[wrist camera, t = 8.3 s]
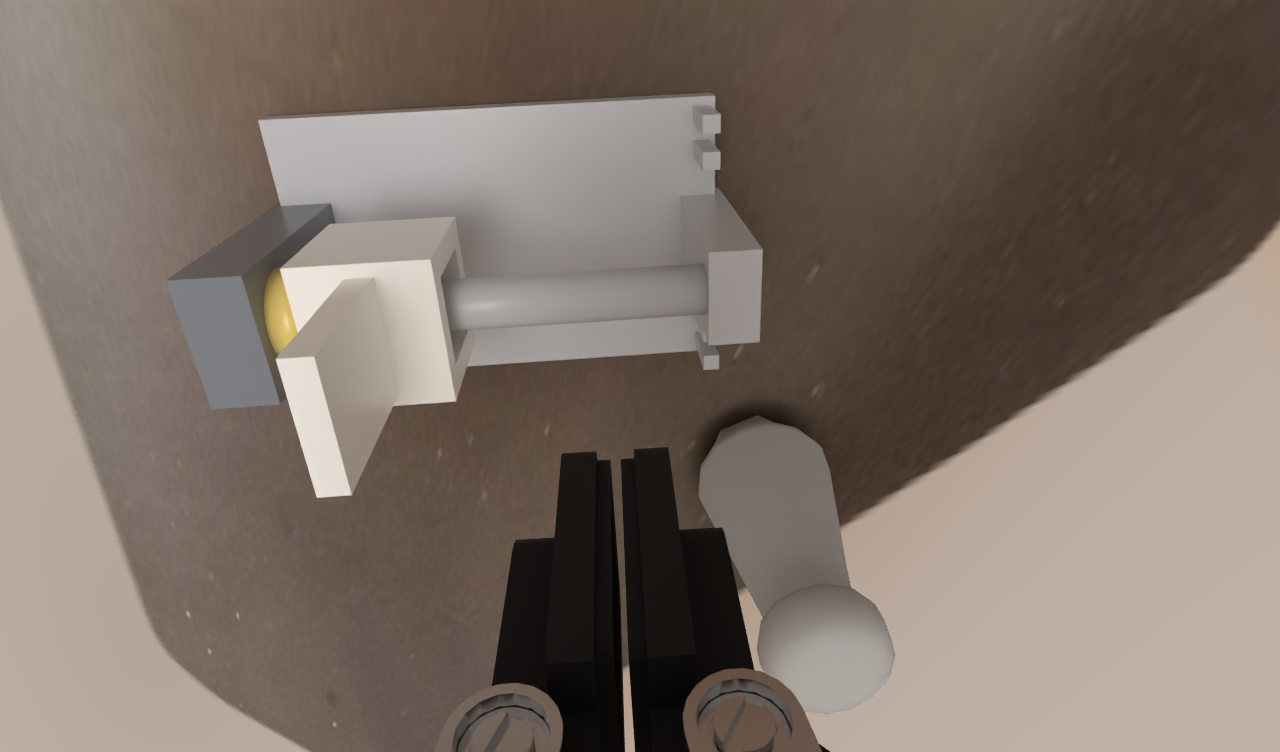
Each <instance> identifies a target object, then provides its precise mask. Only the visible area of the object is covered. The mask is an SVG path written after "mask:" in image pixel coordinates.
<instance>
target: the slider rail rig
mask: <svg viewBox="0 0 1280 752" xmlns="http://www.w3.org/2000/svg"><path fill="white" fill-rule="evenodd" d="M258 122H259V126H260V130H261V134H262V137H263V141H264V145H265V148H266V152H267V156H268V160H269V163H270V167H271V171H272V175H273V178H274V182H275V186H276V190H277V193H278V197H279V201H280V204H278V205H277V206H275V207H274V208H272V209H271V210H269V211H268V212H266V213H265V214H263V215H262V216H260V217H259V218H257V219H256V220H254V221H253V222H251V223H250V224H249V225H247V226H246V227H244V228H243V229H241V230H240V231H238V232H237V233H235V234H234V235H232V236H231V237H229V238H228V239H226V240H225V241H223V242H222V243H220V244H219V245H218V246H216V247H215V248H213V249H212V250H210V251H209V252H207V253H206V254H204V255H203V256H201V257H200V258H198V259H197V260H195V261H194V262H192V263H191V264H189V265H188V266H187V267H185V268H184V269H182V270H181V271H179V272H178V273H176V274H175V275H173V276H172V277H170V278H169V279H167V280H166V283H167V286H168V289H169V292H170V295H171V297H172V300H173V303H174V306H175V309H176V311H177V314H178V317H179V320H180V323H181V325H182V328H183V331H184V334H185V337H186V340H187V342H188V345H189V348H190V351H191V354H192V356H193V359H194V362H195V365H196V368H197V371H198V373H199V376H200V379H201V382H202V385H203V387H204V390H205V393H206V396H207V399H208V402H209V404H210V407H211V409H225V408H239V407H253V406H268V405H281V403H282V402H283V400H284V399H285V398H286V392H285V389H284V386H283V382H282V379H281V376H280V372H279V369H278V366H277V362H276V358H277V357H278V356H279V354H280V353H281V352H282V351H283V350H284V349H285V347H286V346H287V345H288V344H289V343H290V341H291V340H292V339H293V338H294V337H295V336H296V334H297V329H296V325H295V322H294V318H293V315H292V311H291V307H290V304H289V300H288V297H287V293H286V289H285V286H284V282H283V279H282V275H281V271H280V268H281V267H282V266H283V265H284V264H285V263H287V262H288V261H289V260H290V259H291V258H292V257H293V256H294V255H296V254H297V253H298V252H299V251H300V250H301V249H302V248H303V247H305V246H306V245H307V244H308V243H309V242H310V241H311V240H312V239H313V238H315V237H316V236H317V235H318V234H319V233H320V232H321V231H322V230H324V229H325V228H326V227H327V226H328V225H329V224H338V223H355V222H371V221H388V220H405V219H422V218H438V217H456V223H457V230H458V236H459V242H460V249H461V255H462V261H463V267H464V274H465V278H464V279H449V280H441V284H442V289H443V295H444V301H445V306H446V312H447V318H448V324H449V329H450V331H464V330H474V337H475V342H474V346H473V349H472V352H471V355H470V358H469V362H468V365H467V366H480V365H494V364H509V363H524V362H538V361H553V360H568V359H582V358H597V357H612V356H626V355H641V354H655V353H670V352H685V351H698V354H699V357H700V360H701V364H702V367H703V370H712V369H719V353H718V351H717V348H716V346H715V345H725V344H740V343H754V342H760V317H761V288H762V259H763V249H762V247H761V246H760V245H759V243H758V242H757V241H756V239H755V238H754V236H753V235H752V234H751V232H750V231H749V229H748V228H747V227H746V225H745V224H744V222H743V221H742V220H741V218H740V217H739V215H738V214H737V213H736V211H735V210H734V208H733V207H732V206H731V204H730V203H729V201H728V200H727V199H726V197H725V196H724V194H723V193H722V192H721V190H720V189H719V188H718V187H717V188H715V170H720V158H721V152H720V150H719V149H718V148H717V147H716V146H715V133H721V114H720V113H719V112H718V111H716V110H715V95H714V94H712V93H711V92H709V93H691V94H672V95H653V96H635V97H616V98H597V99H579V100H560V101H542V102H523V103H504V104H486V105H467V106H448V107H430V108H411V109H393V110H374V111H355V112H337V113H318V114H299V115H281V116H268V117H265V118H263V119H260V120H258Z"/></svg>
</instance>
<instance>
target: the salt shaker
mask: <svg viewBox="0 0 1280 752" xmlns="http://www.w3.org/2000/svg"><path fill="white" fill-rule="evenodd" d="M699 498H700V500H701V502H702V504H703V506H704V508H705V510H706V512H707V514H708V516H709V518H710V520H711V521H712V523H713V525H714V527H715V528H721V527H722V528H723V530H724V533H725V537H726V541H727V546H728V550H729V555H730V557H731V559H732V560H733V562H734V564H735V566H736V568H737V570H738V572H739V574H740V576H741V577H742V579H743V581H744V583H745V585H746V587H747V589H748V591H749V592H750V594H751V596H752V598H753V600H754V602H755V604H756V606H757V607H758V609H759V611H760V613H761V615H762V617H763V619H762V620H761V625H760V631H759V637H758V644H757V651H758V656H759V661H760V665H761V667H762V669H763V671H764V673H765V674H767V675H770V676H772V677H774V678H776V679H778V680H779V681H780V682H782V683H783V684H784V685H785V686H786V687H787V688H789V689H790V690H791V691H792V692H793V693H794V695H795V697H796V698H797V700H798V701H799V703H800V704H801V706H802V708H803V710H804V711H805V712H814V713H823V714H829V713H835V712H840V711H846V710H850V709H852V708H854V707H856V706H858V705H860V704H861V703H863V702H865V701H867V700H869V699H870V698H871V697H872V696H873V695H874V694H875V693H876V692H877V691H878V690H879V689H880V688H881V687H882V685H883V684H884V683H885V682H886V681H887V679H888V678H889V676H890V674H891V670H892V666H893V662H894V658H895V652H894V648H893V644H892V641H891V637H890V634H889V632H888V629H887V626H886V624H885V621H884V619H883V617H882V615H881V613H880V612H879V610H878V608H877V607H876V605H875V604H874V603H872V602H871V601H870V600H869V599H867V598H866V597H864V596H863V595H861V594H860V593H858V592H857V591H856V590H854V589H852V588H851V586H850V581H849V577H848V572H847V567H846V562H845V556H844V550H843V544H842V538H841V532H840V526H839V521H838V515H837V509H836V503H835V498H834V492H833V486H832V480H831V474H830V470H829V467H828V464H827V461H826V459H825V456H824V453H823V450H822V448H821V447H820V446H819V444H818V443H817V442H815V441H814V440H813V439H811V438H810V437H808V436H807V435H806V434H804V433H803V432H802V431H800V430H799V429H797V428H796V427H792V426H788V425H783V424H779V423H774V422H772V421H770V420H767V419H765V418H763V417H760V416H758V415H756V416H753V417H751V418H749V419H746V420H744V421H741V422H739V423H736V424H734V425H732V426H729V427H727V428H724V429H722V430H720V432H719V435H718V437H717V440H716V442H715V444H714V446H713V447H712V449H711V450H710V452H709V454H708V455H707V457H706V458H705V460H704V462H703V463H702V465H701V469H700V480H699Z"/></svg>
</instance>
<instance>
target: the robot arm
mask: <svg viewBox="0 0 1280 752" xmlns="http://www.w3.org/2000/svg"><path fill="white" fill-rule="evenodd" d="M621 471H622V497H623V523H624V549H625V575H626V601H627V627H628V651H629V669H630V684H631V696H632V697H631V698H632V711H633V726H634V740H635V752H830V751H828V750H827V749H825V748H824V747H822V746H821V745H820V744H818V741H817V739H816V737H815V735H814V732H813V730H812V728H811V726H810V723H809V721H808V719H807V717H806V714H805V712H804V710H803V708H802V706H801V704H800V703H799V701H798V700H797V698H796V697H795V695H794V693H793V692H792V691H791V690H790V689H789V688H787V687H786V686H785V685H784V684H783V683H782V682H780V681H779V680H778V679H776V678H774V677H772V676H770V675H767V674H765V673H763V672H760V671H755V670H754V666H753V662H752V657H751V653H750V648H749V644H748V638H747V634H746V629H745V625H744V620H743V615H742V611H741V607H740V601H739V597H738V592H737V587H736V583H735V578H734V573H733V569H732V564H731V560H730V555H729V550H728V546H727V541H726V537H725V533H724V530H723V528H722V527H721V528H704V529H688V530H679V524H678V516H677V509H676V502H675V494H674V487H673V480H672V472H671V465H670V458H669V451H668V447H664V448H647V449H634V458H633V459H621ZM623 706H624V705H623V670H622V636H621V603H620V584H619V570H618V557H617V543H616V530H615V516H614V503H613V489H612V475H611V463H610V460H599V461H597V453H596V452H580V453H563V454H562V456H561V467H560V479H559V491H558V504H557V516H556V528H555V538H542V539H525V540H516V541H515V543H514V546H513V551H512V557H511V564H510V571H509V577H508V584H507V590H506V597H505V603H504V610H503V617H502V623H501V630H500V636H499V643H498V649H497V656H496V663H495V669H494V676H493V682H492V687H489V688H486V689H483V690H480V691H479V692H477V693H476V694H474V695H472V696H471V697H469V698H468V699H466V700H464V701H463V702H462V704H461V705H460V706H459V707H458V708H457V709H456V710H455V711H454V712H453V713H452V714H451V715H450V717H449V719H448V721H447V723H446V724H445V726H444V728H443V730H442V732H441V735H440V737H439V740H438V743H437V746H436V748H435V751H434V752H625V741H624V740H625V739H624V707H623Z"/></svg>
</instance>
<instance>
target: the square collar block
mask: <svg viewBox="0 0 1280 752" xmlns="http://www.w3.org/2000/svg"><path fill="white" fill-rule="evenodd" d="M280 271H281V275H282V279H283V282H284V286H285V289H286V293H287V297H288V300H289V304H290V307H291V311H292V315H293V318H294V322H295V325H296V329H297V334H296V336H295V337H294V338H293V339H292V340H291V341H290V343H289V344H288V345H287V346H286V347H285V349H284V350H283V351H282V352H281V353H280V354H279V356H278V357H277V358H276V362H277V366H278V369H279V372H280V376H281V379H282V382H283V386H284V389H285V392H286V396H287V399H288V402H289V406H290V409H291V412H292V416H293V419H294V422H295V426H296V429H297V433H298V436H299V439H300V443H301V446H302V449H303V453H304V456H305V459H306V463H307V466H308V469H309V473H310V476H311V479H312V483H313V486H314V489H315V493H316V496H317V498H320V497H333V496H347V495H352V493H353V491H354V489H355V487H356V485H357V483H358V481H359V478H360V476H361V474H362V472H363V470H364V468H365V465H366V463H367V461H368V459H369V457H370V455H371V453H372V450H373V448H374V446H375V444H376V442H377V440H378V437H379V435H380V433H381V431H382V429H383V427H384V425H385V422H386V420H387V418H388V416H389V414H390V412H391V410H392V407H393V406H398V405H413V404H427V403H441V402H455V401H456V400H457V397H458V393H459V390H460V387H461V384H462V381H463V377H464V374H465V371H466V368H467V365H468V362H469V358H470V355H471V352H472V349H473V346H474V342H475V337H474V330H464V331H450V329H449V324H448V318H447V312H446V306H445V301H444V295H443V289H442V284H441V280H449V279H464V278H465V274H464V267H463V261H462V255H461V249H460V242H459V236H458V230H457V223H456V217H438V218H422V219H405V220H388V221H371V222H355V223H338V224H329V225H328V226H327V227H326V228H325V229H324V230H322V231H321V232H320V233H319V234H318V235H317V236H316V237H315V238H313V239H312V240H311V241H310V242H309V243H308V244H307V245H306V246H305V247H303V248H302V249H301V250H300V251H299V252H298V253H297V254H296V255H294V256H293V257H292V258H291V259H290V260H289V261H288V262H287V263H285V264H284V265H283V266H282V267H281V268H280Z"/></svg>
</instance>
